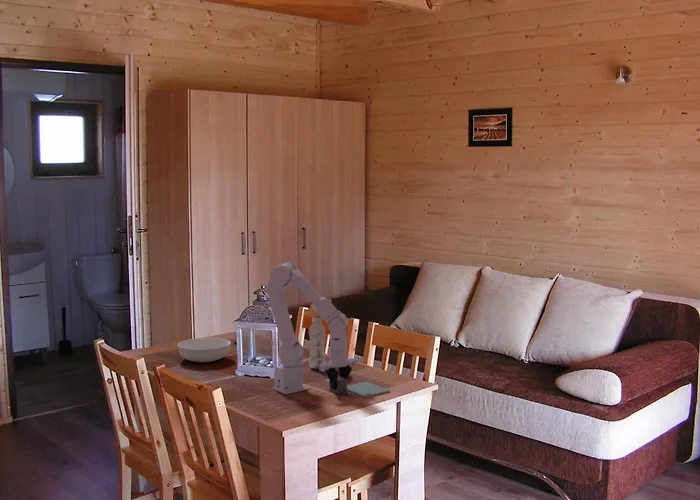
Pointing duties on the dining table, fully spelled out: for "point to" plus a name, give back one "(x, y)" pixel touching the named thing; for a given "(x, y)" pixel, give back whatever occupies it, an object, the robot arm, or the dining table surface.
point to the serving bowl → (204, 349)
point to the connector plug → (339, 386)
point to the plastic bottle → (317, 343)
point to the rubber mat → (366, 389)
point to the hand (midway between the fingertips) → (338, 388)
